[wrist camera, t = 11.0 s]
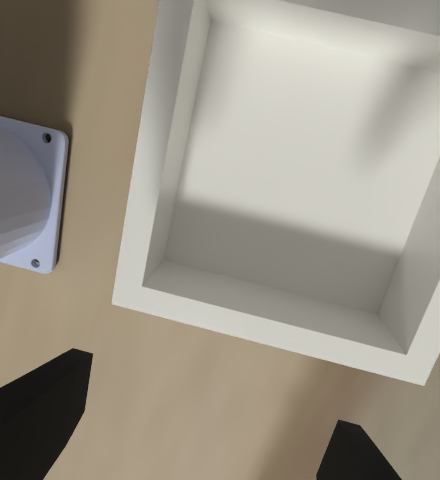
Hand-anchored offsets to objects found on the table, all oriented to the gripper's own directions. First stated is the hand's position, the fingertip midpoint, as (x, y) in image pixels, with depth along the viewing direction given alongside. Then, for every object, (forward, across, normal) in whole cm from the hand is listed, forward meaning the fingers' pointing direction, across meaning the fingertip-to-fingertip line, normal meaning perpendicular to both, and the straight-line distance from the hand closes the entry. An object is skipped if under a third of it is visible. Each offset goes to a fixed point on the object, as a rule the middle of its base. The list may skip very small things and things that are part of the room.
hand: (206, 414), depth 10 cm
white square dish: (+10, -2, -6) cm, 12 cm away
